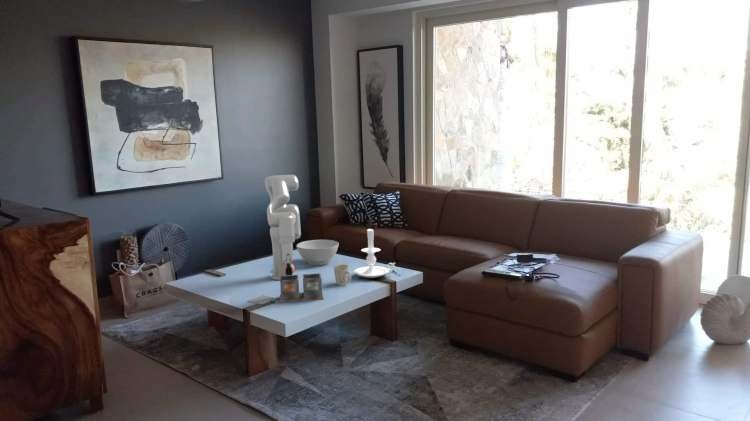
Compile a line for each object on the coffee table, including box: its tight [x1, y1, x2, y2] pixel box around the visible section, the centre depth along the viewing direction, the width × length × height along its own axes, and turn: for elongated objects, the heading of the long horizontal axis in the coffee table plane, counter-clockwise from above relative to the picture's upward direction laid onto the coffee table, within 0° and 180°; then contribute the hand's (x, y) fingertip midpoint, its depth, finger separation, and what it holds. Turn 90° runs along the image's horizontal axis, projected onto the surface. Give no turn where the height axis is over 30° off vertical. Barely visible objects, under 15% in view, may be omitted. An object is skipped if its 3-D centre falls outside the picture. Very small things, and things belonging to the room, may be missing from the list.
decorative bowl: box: [296, 239, 339, 266], centre depth 376 cm, size 27×27×12 cm
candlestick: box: [353, 228, 396, 279], centre depth 340 cm, size 21×25×28 cm
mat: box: [247, 294, 279, 305], centre depth 303 cm, size 11×11×1 cm
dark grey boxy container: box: [279, 272, 324, 303], centre depth 305 cm, size 22×11×11 cm, turn 99°
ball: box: [283, 263, 295, 274], centre depth 303 cm, size 6×6×6 cm
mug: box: [333, 263, 352, 286], centre depth 327 cm, size 8×13×10 cm, turn 44°
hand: (289, 273), depth 303 cm, fingers closed on ball, 5 cm apart
